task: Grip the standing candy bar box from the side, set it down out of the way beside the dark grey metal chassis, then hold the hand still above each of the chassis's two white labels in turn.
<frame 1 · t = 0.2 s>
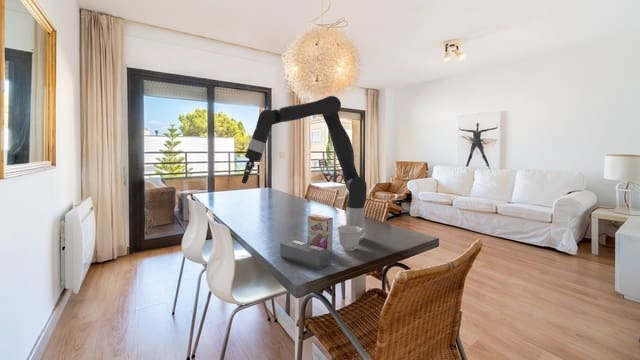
hand: (244, 182, 134), 31 cm above the table, tool tilted 20°, fingers open, 8 cm apart
teacup: (351, 249, 133), on the table
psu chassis: (304, 260, 119), on the table
candy bar box: (319, 251, 130), on the table
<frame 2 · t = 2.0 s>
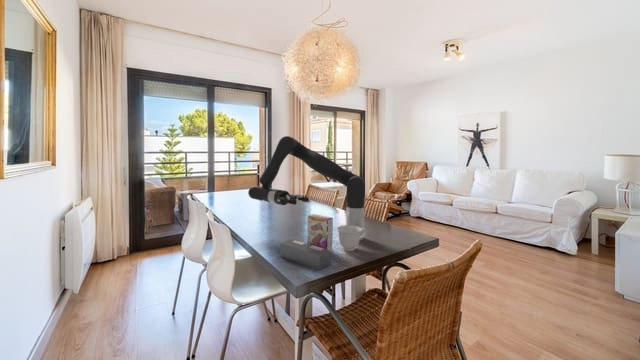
hand: (302, 201, 134), 22 cm above the table, tool horizontal, fingers open, 8 cm apart
nothing on the table moved.
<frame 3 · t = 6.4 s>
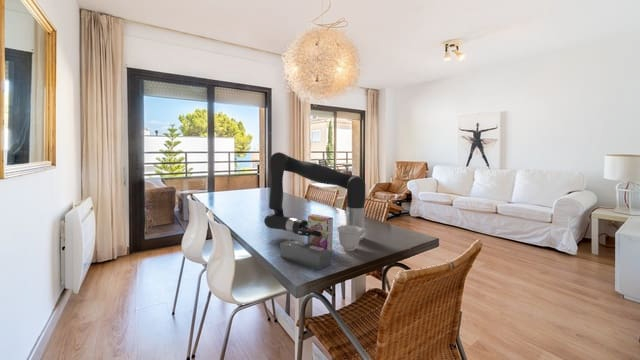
hand: (324, 232, 128), 9 cm above the table, tool horizontal, fingers closed on candy bar box, 5 cm apart
candy bar box: (319, 251, 130), on the table, touching gripper
everything else where it was.
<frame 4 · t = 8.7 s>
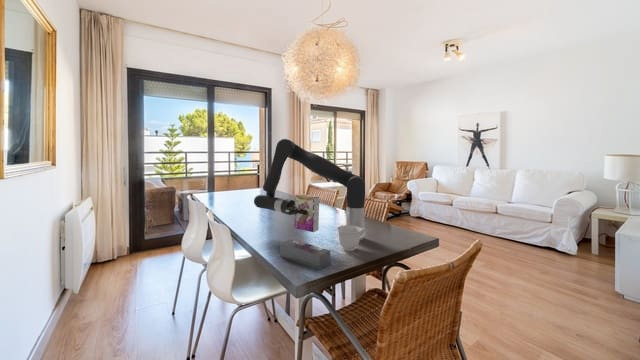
hand: (310, 211, 131), 18 cm above the table, tool horizontal, fingers closed on candy bar box, 5 cm apart
candy bar box: (306, 229, 134), point 9 cm above the table, touching gripper
everything else where it was.
when the fingers open (10 cm above the table, at t = 11.3 s): candy bar box drops 1 cm, on the table.
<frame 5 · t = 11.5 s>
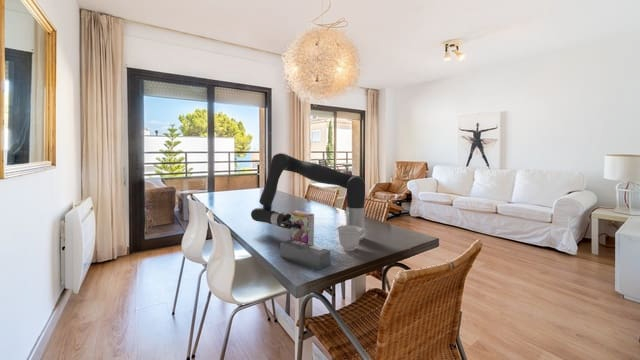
hand: (305, 225, 134), 10 cm above the table, tool horizontal, fingers open, 6 cm apart
candy bar box: (301, 246, 137), on the table
everything else where it was.
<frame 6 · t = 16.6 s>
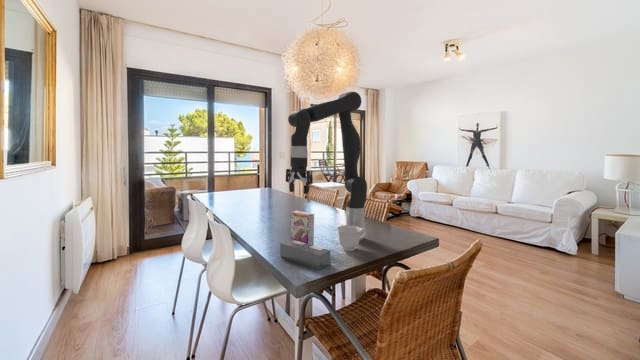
hand: (298, 192, 126), 27 cm above the table, tool pointing down, fingers open, 8 cm apart
nothing on the table moved.
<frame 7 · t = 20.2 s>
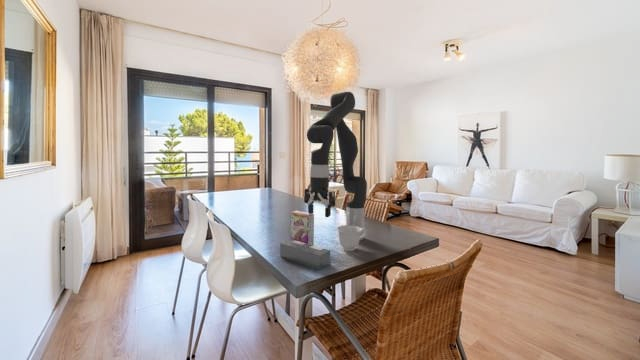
hand: (319, 215, 114), 20 cm above the table, tool pointing down, fingers open, 8 cm apart
nothing on the table moved.
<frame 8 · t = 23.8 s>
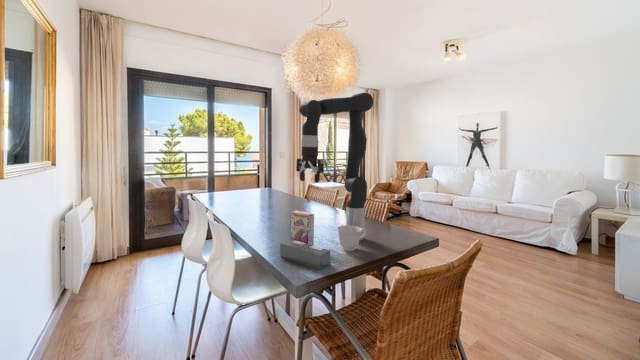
hand: (309, 181, 128), 32 cm above the table, tool pointing down, fingers open, 8 cm apart
nothing on the table moved.
at the end: candy bar box inside the target area (0.0 cm from its centre), on the table; candy bar box tilted 0°; the gripper is holding nothing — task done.
